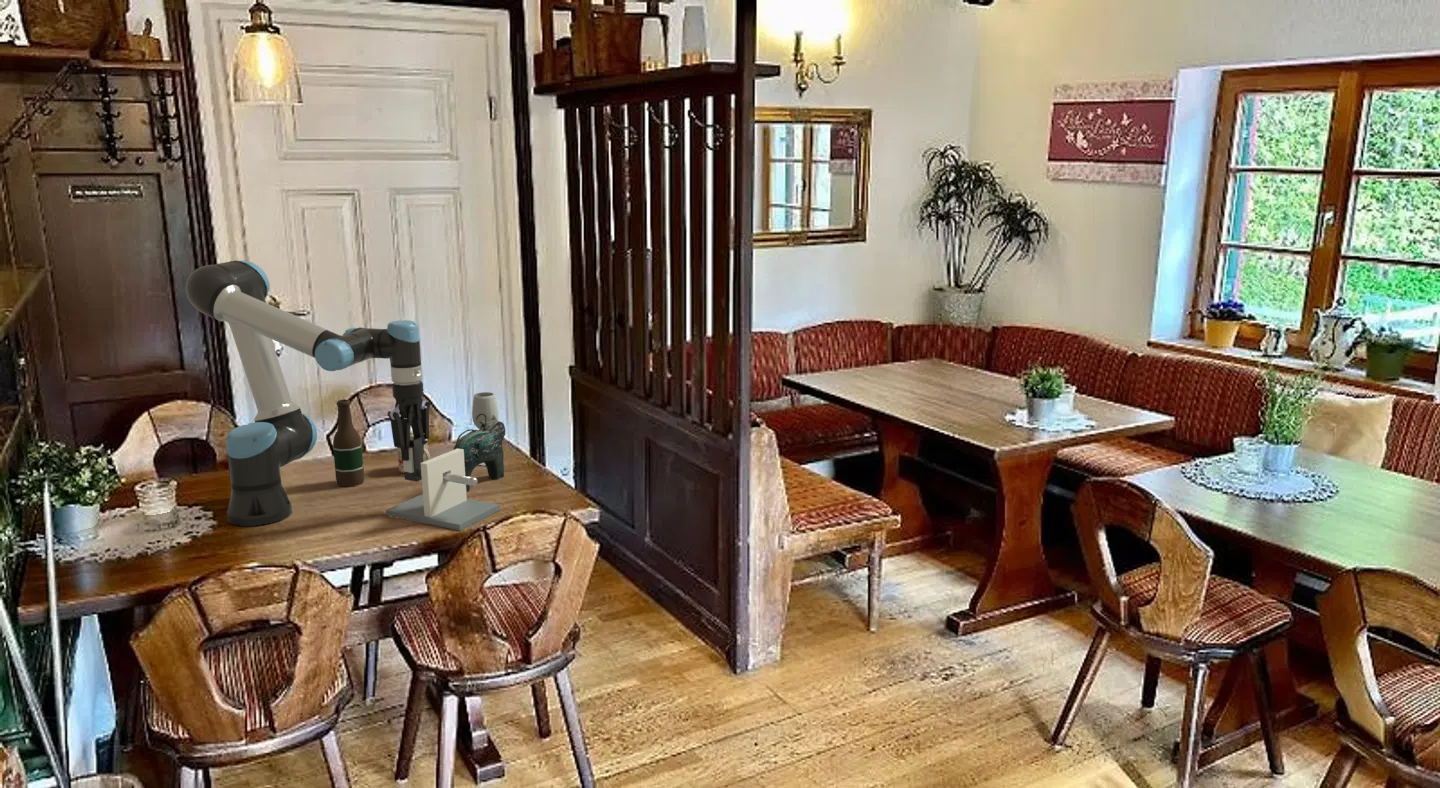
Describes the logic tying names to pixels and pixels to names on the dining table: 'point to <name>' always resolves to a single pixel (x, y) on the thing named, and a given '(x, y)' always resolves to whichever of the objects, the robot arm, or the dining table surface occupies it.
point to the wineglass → (484, 408)
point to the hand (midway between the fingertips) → (414, 469)
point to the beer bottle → (347, 449)
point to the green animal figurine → (483, 448)
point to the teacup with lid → (425, 456)
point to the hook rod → (418, 459)
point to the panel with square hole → (443, 496)
